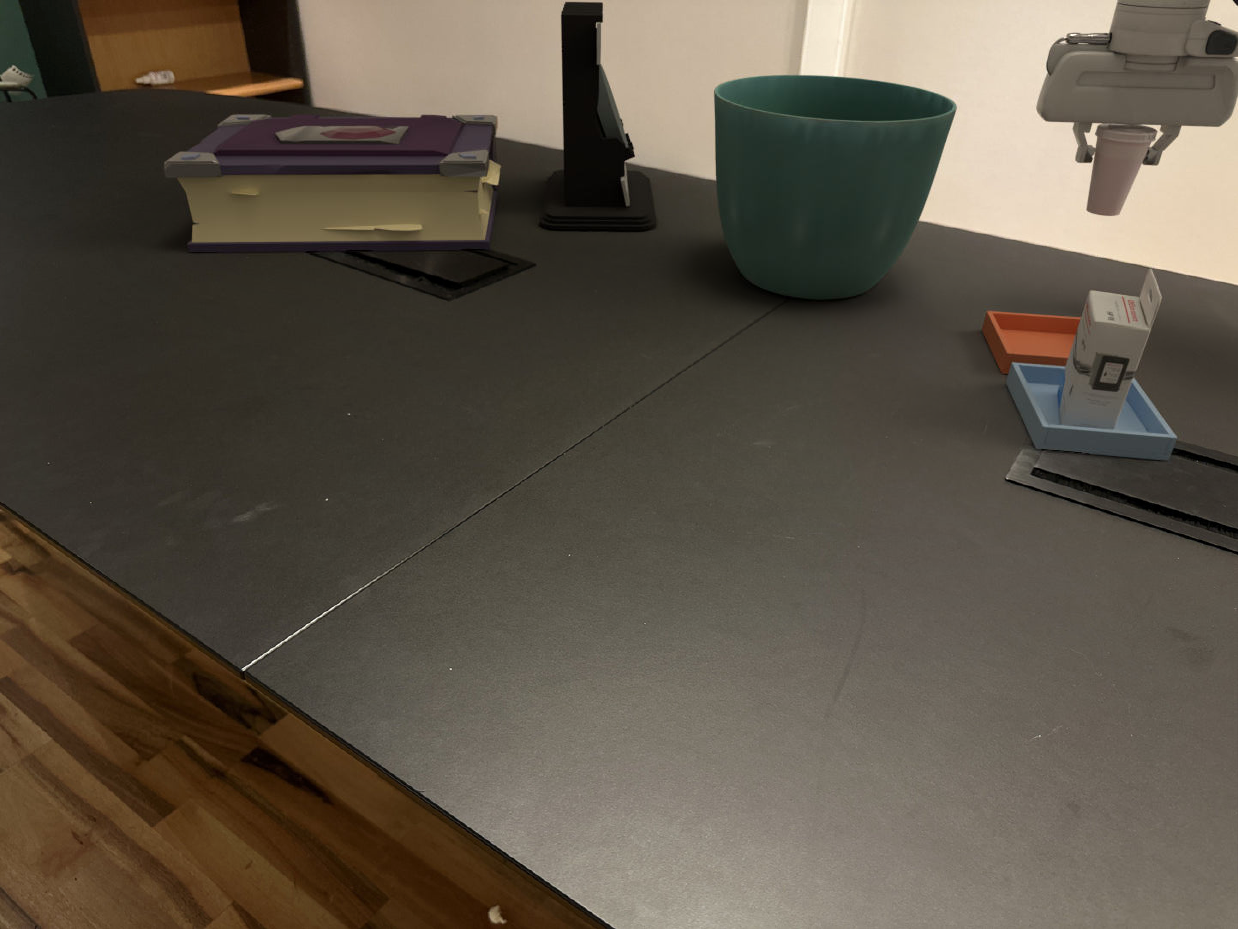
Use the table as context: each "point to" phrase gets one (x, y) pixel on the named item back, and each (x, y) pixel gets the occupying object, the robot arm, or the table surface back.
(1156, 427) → the blue tray
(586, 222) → the award
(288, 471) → the table surface
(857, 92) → the flower pot
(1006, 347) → the terracotta tray
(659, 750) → the table surface
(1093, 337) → the ink box
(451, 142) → the book
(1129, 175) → the smoothie
